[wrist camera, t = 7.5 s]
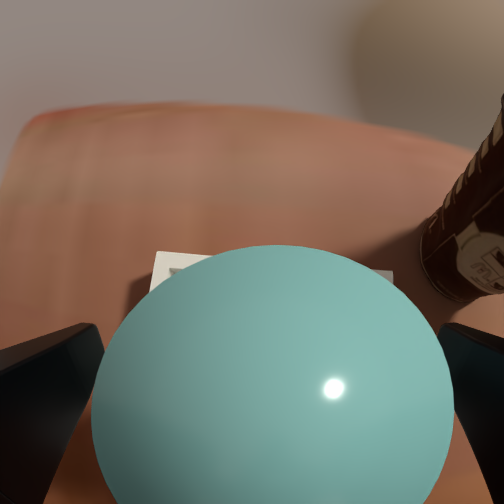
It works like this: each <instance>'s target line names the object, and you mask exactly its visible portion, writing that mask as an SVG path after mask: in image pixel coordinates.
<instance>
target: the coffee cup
mask: <svg viewBox="0 0 504 504" xmlns="http://www.w3.org/2000/svg"><path fill="white" fill-rule="evenodd" d="M501 103H502V108H501V112H500V114H499V116H498V118H497V120H496V122H495V124H494V126H493V128H492V130H491V132H490V134H489V135H488V136H487V138H486V139H485V140H484V141H483V142H482V144H481V146H480V148H479V150H478V151H477V153H476V154H475V155H474V157H473V158H472V160H471V161H470V162H469V164H468V166H467V168H466V170H465V172H464V173H462V174H461V175H460V177H459V178H458V179H457V181H456V182H455V184H454V186H453V188H452V189H451V191H450V192H449V193H448V194H447V195H446V198H445V200H444V202H443V205H442V206H441V207H440V208H439V209H438V210H436V212H435V213H434V214H433V215H432V216H431V217H430V218H429V220H428V221H427V223H426V225H425V228H424V230H423V233H422V236H421V241H420V256H421V264H422V266H423V268H424V270H425V272H426V274H427V276H428V277H429V279H430V281H431V283H432V284H433V285H434V287H435V288H436V289H437V290H438V291H439V292H441V293H442V294H443V295H445V296H447V297H449V298H451V299H453V300H456V301H459V302H470V301H474V300H475V299H478V298H479V297H482V296H487V295H493V294H502V293H504V94H503V96H502V98H501Z"/></svg>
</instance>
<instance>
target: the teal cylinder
mask: <svg viewBox="0 0 504 504" xmlns="http://www.w3.org/2000/svg"><path fill="white" fill-rule="evenodd" d="M453 419H454V399H453V387H452V382H451V377H450V372H449V367H448V364H447V361H446V358H445V356H444V353H443V350H442V347H441V345H440V343H439V341H438V339H437V337H436V335H435V333H434V331H433V330H432V328H431V326H430V325H429V323H428V322H427V321H426V319H425V318H424V316H423V315H422V313H421V312H420V311H419V309H418V308H417V307H416V306H415V305H414V304H413V303H412V302H411V301H410V300H409V299H408V297H407V296H406V295H405V294H404V293H402V292H401V291H400V290H399V289H398V288H396V287H395V286H394V285H393V284H392V283H390V282H389V281H388V280H387V279H385V278H384V277H382V276H380V275H379V274H377V273H376V272H374V271H372V270H371V269H369V268H368V267H366V266H363V265H361V264H359V263H357V262H355V261H352V260H350V259H348V258H346V257H343V256H339V255H336V254H333V253H330V252H327V251H323V250H318V249H312V248H307V247H301V246H285V245H269V246H254V247H247V248H242V249H237V250H232V251H227V252H224V253H221V254H218V255H215V256H212V257H209V258H205V259H203V260H201V261H199V262H197V263H194V264H192V265H190V266H188V267H186V268H184V269H182V270H180V271H179V272H177V273H176V274H174V275H172V276H171V277H169V278H168V279H166V280H164V281H163V282H162V283H160V284H159V285H158V286H157V287H156V288H154V289H153V290H152V291H151V292H149V293H148V294H147V295H146V296H145V297H144V298H143V299H142V300H141V301H140V302H139V303H138V304H137V305H136V306H135V307H134V308H133V309H132V310H131V312H130V313H129V314H128V315H127V316H126V318H125V319H124V321H123V322H122V323H121V325H120V326H119V328H118V329H117V331H116V332H115V334H114V335H113V337H112V339H111V341H110V343H109V345H108V347H107V349H106V351H105V353H104V355H103V358H102V361H101V364H100V367H99V369H98V372H97V376H96V380H95V385H94V390H93V395H92V409H91V425H92V436H93V443H94V448H95V452H96V456H97V460H98V464H99V466H100V469H101V472H102V474H103V477H104V479H105V482H106V484H107V486H108V487H109V489H110V491H111V493H112V495H113V496H114V498H115V500H116V502H117V503H118V504H423V503H424V501H425V500H426V498H427V497H428V495H429V494H430V492H431V490H432V488H433V487H434V485H435V483H436V481H437V479H438V477H439V475H440V473H441V470H442V467H443V465H444V462H445V459H446V457H447V454H448V449H449V445H450V441H451V436H452V430H453Z"/></svg>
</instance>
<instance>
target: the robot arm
mask: <svg viewBox="0 0 504 504" xmlns="http://www.w3.org/2000/svg"><path fill="white" fill-rule="evenodd" d="M437 339H438V341H439V343H440V345H441V347H442V350H443V353H444V356H445V358H446V361H447V364H448V367H449V372H450V377H451V382H452V387H453V399H454V410H455V412H456V414H457V417H458V419H459V421H460V423H461V425H462V427H463V429H464V432H465V434H466V436H467V438H468V441H469V443H470V445H471V447H472V450H473V452H474V454H475V457H476V459H477V462H478V464H479V467H480V469H481V472H482V474H483V477H484V479H485V482H486V484H487V487H488V490H489V492H490V495H491V498H492V501H493V503H494V504H504V338H501V337H498V336H495V335H492V334H489V333H486V332H483V331H480V330H477V329H474V328H471V327H468V326H465V325H462V324H459V323H454V322H453V323H445V324H443V325H442V326H441V328H440V330H439V333H438V336H437ZM104 353H105V351H104V346H103V343H102V340H101V337H100V334H99V331H98V328H97V326H96V325H95V324H92V323H79V324H76V325H73V326H70V327H67V328H64V329H62V330H59V331H56V332H53V333H50V334H47V335H44V336H41V337H38V338H35V339H32V340H29V341H26V342H23V343H20V344H17V345H14V346H11V347H8V348H5V349H2V350H0V504H43V502H44V499H45V497H46V494H47V492H48V489H49V487H50V484H51V482H52V480H53V477H54V475H55V472H56V470H57V468H58V465H59V463H60V461H61V459H62V456H63V454H64V452H65V449H66V447H67V445H68V443H69V441H70V438H71V436H72V434H73V432H74V430H75V428H76V425H77V423H78V421H79V419H80V417H81V415H82V413H83V411H84V409H85V407H86V404H87V402H88V400H89V398H90V395H91V393H92V390H93V387H94V384H95V380H96V376H97V372H98V369H99V367H100V364H101V361H102V358H103V355H104Z"/></svg>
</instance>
